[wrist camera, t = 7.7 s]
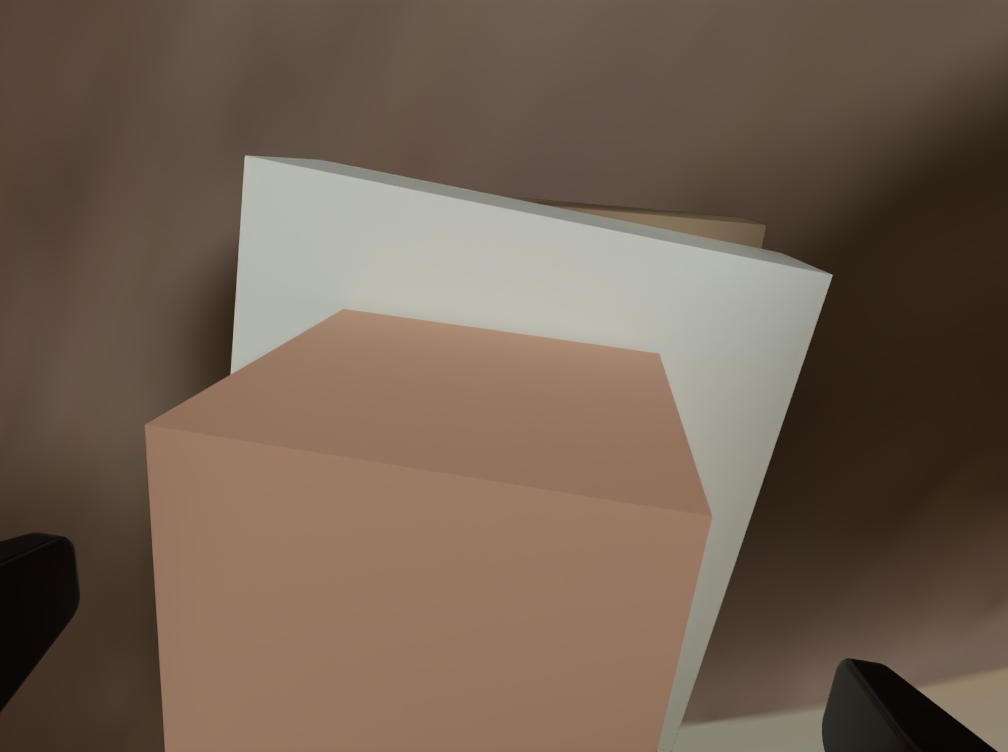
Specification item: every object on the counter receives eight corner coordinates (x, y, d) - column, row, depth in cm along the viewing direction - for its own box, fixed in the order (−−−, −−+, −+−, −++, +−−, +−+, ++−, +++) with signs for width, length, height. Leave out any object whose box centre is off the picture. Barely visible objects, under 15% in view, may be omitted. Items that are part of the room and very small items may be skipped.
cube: (659, 353, 10) (712, 516, 6) (607, 624, 12) (614, 931, 7) (343, 309, 11) (144, 425, 6) (333, 575, 12) (170, 833, 8)
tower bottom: (735, 215, 15) (766, 225, 12) (674, 561, 18) (687, 633, 15) (354, 182, 16) (302, 183, 13) (349, 514, 19) (305, 574, 16)
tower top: (780, 252, 13) (832, 274, 10) (658, 645, 15) (671, 751, 12) (321, 160, 13) (244, 155, 10) (282, 551, 16) (213, 632, 13)
